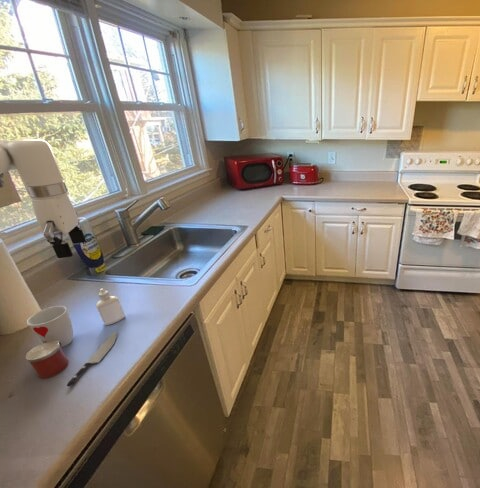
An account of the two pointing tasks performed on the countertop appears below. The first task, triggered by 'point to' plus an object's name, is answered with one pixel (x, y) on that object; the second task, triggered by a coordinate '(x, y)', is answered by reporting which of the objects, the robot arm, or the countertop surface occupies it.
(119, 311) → the eye dropper bottle
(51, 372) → the spice tin
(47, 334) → the cup
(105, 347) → the chef's knife
